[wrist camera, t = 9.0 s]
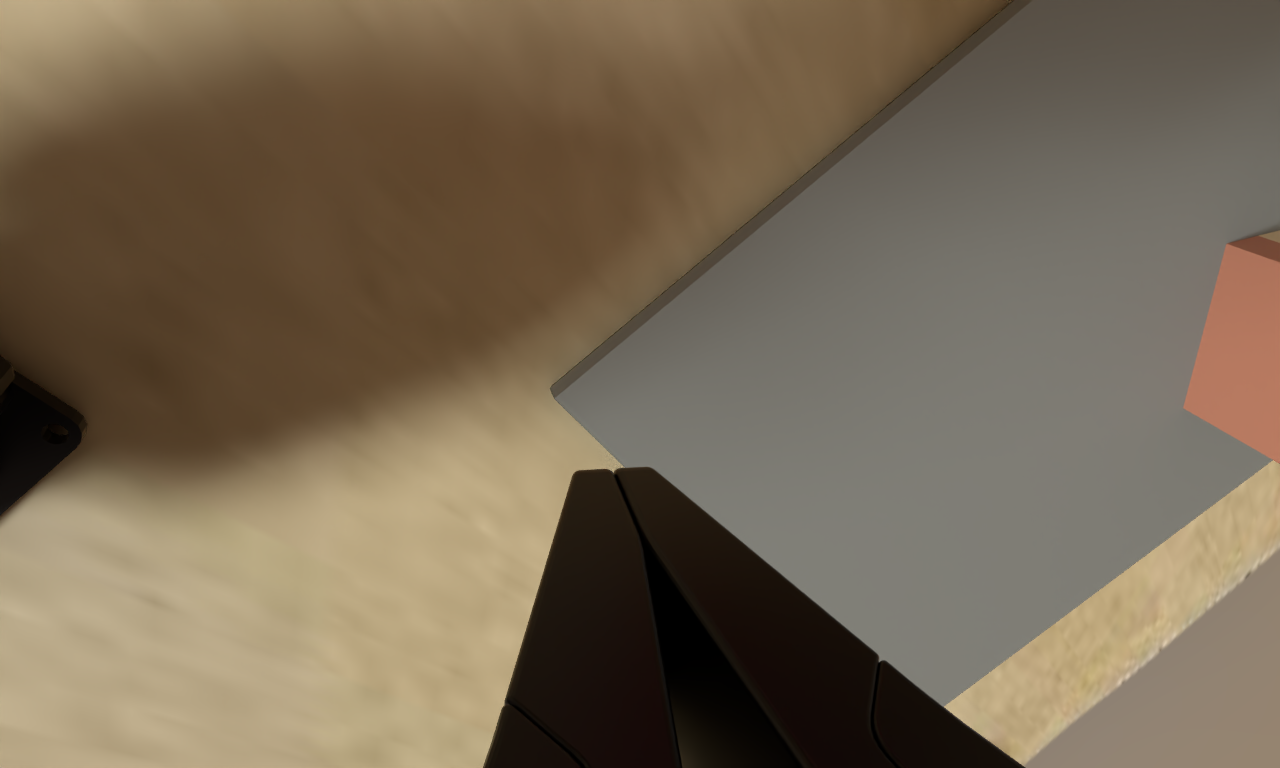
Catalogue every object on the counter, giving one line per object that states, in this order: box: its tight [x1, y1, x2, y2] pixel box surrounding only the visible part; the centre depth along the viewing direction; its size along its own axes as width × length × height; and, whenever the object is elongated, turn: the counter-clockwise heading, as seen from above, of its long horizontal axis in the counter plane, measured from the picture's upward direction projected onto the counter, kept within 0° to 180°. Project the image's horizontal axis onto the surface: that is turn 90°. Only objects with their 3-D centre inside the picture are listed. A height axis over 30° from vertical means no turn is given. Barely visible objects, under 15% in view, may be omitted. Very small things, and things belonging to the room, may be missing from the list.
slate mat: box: [550, 0, 1280, 707], centre depth 26 cm, size 26×22×1 cm
